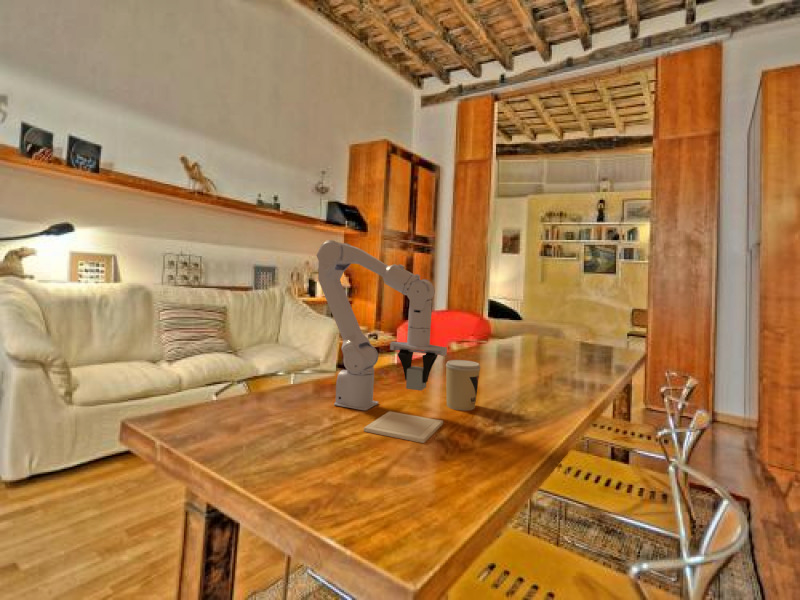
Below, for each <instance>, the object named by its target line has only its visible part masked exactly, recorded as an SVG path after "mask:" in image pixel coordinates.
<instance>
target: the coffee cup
mask: <svg viewBox="0 0 800 600" xmlns="http://www.w3.org/2000/svg"><path fill="white" fill-rule="evenodd" d="M445 367H446V368H445V373H446V374H445V385H446V387H445V388H446V389H445V391H446V399H445V400H446V407H447V408H449V409H452V410H456V411H472V410H474V409H475V408H476V402H477V401H476V400H477V393H478V387H479V379H480V370H481V366H480V363H478V362H477V361H473V360H465V359H451V360H448V361H446V363H445Z"/></svg>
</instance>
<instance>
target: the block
mask: <svg viewBox="0 0 800 600" xmlns="http://www.w3.org/2000/svg"><path fill="white" fill-rule="evenodd" d="M422 378H423V367H422V366H416V365H415V366H414V365H411V367H410V368H408V369H407V380H405V381H406V382H405V389H407V390H415V391H421V392H422V391H423V390H424V389H425V388H427V382H426V383H423V379H422Z"/></svg>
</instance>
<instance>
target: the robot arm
mask: <svg viewBox="0 0 800 600" xmlns="http://www.w3.org/2000/svg"><path fill="white" fill-rule="evenodd" d="M316 257H317V260H318V274H317V279H318V283H319V286H320V288H321V290H322V292H323V295H324V298H325V300H326V302H327V305H328V307H329V310H330V312H331V314H332V317H333V319H334V322H335V324H336V326H337V329H338V331H339V334H340V336H341V338H342V344H341V352H342V355H343V358H342V359H343V365H344V367H345V369H342V370H340V371H339V372H338V374H337V378H336V382H335V383H336V384H335V402H334V403H333V405H334V406H338V407H343V408H347V409H348V408H350V409H352V410H353V409H354V410H360V411H368V410H369V409H371V408H373V407H375V406H376V405H378V404H379V401H377V400H374V385H375V384H374V383H375V369H374V366H375V365H376V364H377V363H378V360H379V352H378V350H377V349H376V348H375V346H373V345H372V344H371V342H370V339H369V338H368V337H367V336H366V335H365V334H364V333H363V332H362V329H361V327H360V324H359V322H358V320H357V317H356V315H355V313H354V311H353V308H352V306H351V304H350V301H349V298H348V297H347V293H346V292H345V290H344V287H343V283H342V282H341V278H342V276H343V274H344V272H346V270H347V269H348V268H349V267H350V266H351V264H355V265H359V266H361V267H363V268H365V269H367V270H369V271H371V272H373V273H374V274H377V275H378V276H381V277H382V280H383V282H384V284H385V285H387V286H388V287H390V288H392V289H394V290H395V291H397V292H398V293H401V294H402V295H404V296H407V298H408V300H409V305H408V306H409V308H408V317H407V318H408V320H407V340H406V342H404V341H403V342H402V341H391V342H390V343H389V344H390V345H389V350H390V351H399V352H398V353H397V357H398V358H399V361H400V363H401V366H402V370H403V375H404V380H405V381H406V380H407V369H408V368H410V367H412V363H413V355H414V353H419V354H422V365H423V378H422V379H423V383H426V384H427V382H429V381H428V380H429V377H430V372H431V371H432V368H433V366H434V364H435V361H436V360H437V358H438V356H440V357H445V356H447V353H448V347H446V346H440V345H434V344H431V327H432V326H431V325H432V303H433V301H432V300H433V298H434V296H435V293H436V289H435V286H434V285H433V283H432V282H431V281H429V279H421V275H420V274H419V273H416V274H414V273H412V272H410V271H409V270H407V269H405V267H406V266H405V265H403V264H400V263H399V264H395V263H394V264H392V265H388V264H386V263H384V262H383V261H381V260H380V259H378V258H376V257H375V256H373V255H372V254H370V253H368V252H367V251H365V250H363V249H362V248H359V247H356V246H354V245H351V244H350V243H346V242H338V241H335V240H332V239H329V240H325V241H324V242H323V243H322V244H321V245H320V247H319V249H318V252H317V253H316Z"/></svg>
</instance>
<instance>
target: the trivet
mask: <svg viewBox="0 0 800 600" xmlns="http://www.w3.org/2000/svg"><path fill="white" fill-rule="evenodd" d="M443 424H444V420H442V419H436V418H435V419H434V418H431V417H424V416H419V415H412V414H407V413H403V412H402V413H401V412H396V411H391V410H389V411H387V412H386V413H385V414H383V415H381V416H379V417H378V418H377V419H375V420H374V421H372V422H371V423H369V424H367V425H366V426H364V427H363V432H365V433H371V434H376V435H381V436H385V437H386V436H387V437H390V438H396V439H402V440H406V441H411V442H417V443H422V444H425V443H426V442H427V441H428V439H429V438H430V437H432V436H433V434H435V432H436V431H437V430H439V429H440V427H442V425H443Z"/></svg>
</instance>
